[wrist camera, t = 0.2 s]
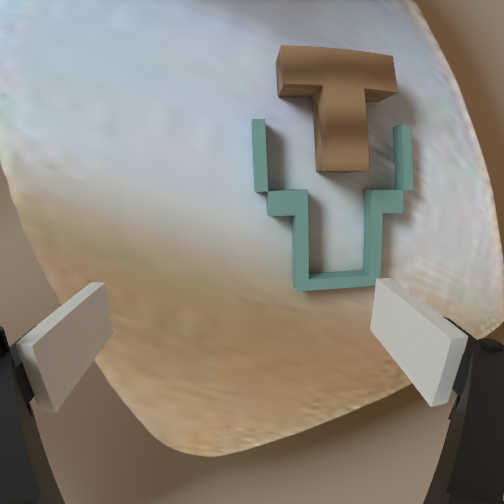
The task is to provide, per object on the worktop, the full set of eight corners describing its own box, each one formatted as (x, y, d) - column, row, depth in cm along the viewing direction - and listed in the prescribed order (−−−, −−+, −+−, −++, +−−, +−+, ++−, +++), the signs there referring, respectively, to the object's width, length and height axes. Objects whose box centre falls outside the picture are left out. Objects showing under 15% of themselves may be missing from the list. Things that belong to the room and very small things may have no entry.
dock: (251, 122, 39) (252, 119, 36) (402, 128, 39) (410, 125, 37) (258, 287, 43) (259, 293, 41) (401, 277, 44) (408, 282, 41)
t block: (275, 62, 37) (281, 45, 31) (374, 69, 37) (392, 56, 31) (281, 172, 40) (288, 170, 34) (382, 172, 41) (402, 172, 35)
